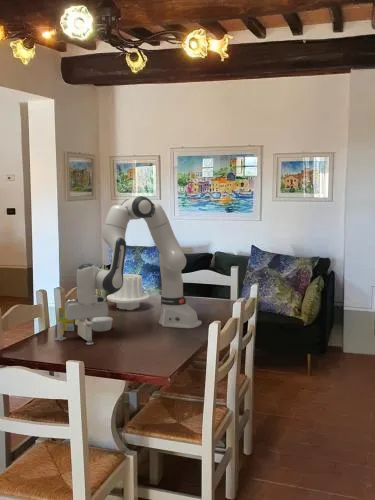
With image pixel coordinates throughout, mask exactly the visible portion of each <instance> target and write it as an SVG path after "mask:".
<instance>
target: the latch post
mask: <svg viewBox="0 0 375 500" xmlns="http://www.w3.org/2000/svg"><path fill="white" fill-rule="evenodd" d="M56 333H57V337H55V338H54V339H53V341H55V340H56V341H63V340H65V339H67V337H65V336H64V335H65V331H64V328H63V322H59V321H57V322H56Z"/></svg>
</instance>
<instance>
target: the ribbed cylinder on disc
mask: <svg viewBox="0 0 375 500" xmlns="http://www.w3.org/2000/svg"><path fill="white" fill-rule="evenodd" d="M150 297H151V295H150V294H148V293H144V292H143V276H141V275H140V274H137V273H123V285H122V287H121V289H120V290H119V291H117V292H115V293H111V294H108V295H107V296H106V301H108V302H112V303H116V309H117V308H119V309H118V310H125V309H126V311H127V310H128V311H132V310H135V309H138V308H140V307H141V306H140V305H141V304H140V303H142V302H145V301H149V300H150Z"/></svg>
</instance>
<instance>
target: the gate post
mask: <svg viewBox="0 0 375 500" xmlns="http://www.w3.org/2000/svg"><path fill="white" fill-rule="evenodd" d="M87 340H88V341H87ZM87 340H86V341H87V342H85V344H86V345H89V346H90V345H94V342H93V330H92V325H87Z"/></svg>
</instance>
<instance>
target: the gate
mask: <svg viewBox="0 0 375 500" xmlns="http://www.w3.org/2000/svg"><path fill="white" fill-rule="evenodd" d="M77 321H78V325H77V335H78V336H79V337H81V338H82V339H83V340H85V341H87V342H88V340H87V325H93V322H89V320H88V321H85V322H83V321H82V320H77Z"/></svg>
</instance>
